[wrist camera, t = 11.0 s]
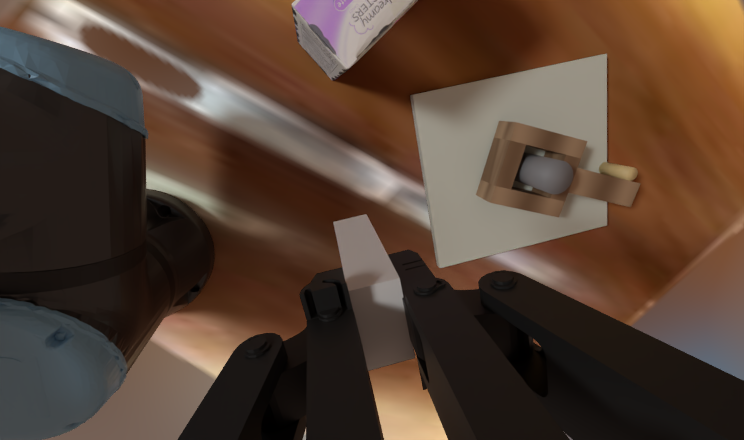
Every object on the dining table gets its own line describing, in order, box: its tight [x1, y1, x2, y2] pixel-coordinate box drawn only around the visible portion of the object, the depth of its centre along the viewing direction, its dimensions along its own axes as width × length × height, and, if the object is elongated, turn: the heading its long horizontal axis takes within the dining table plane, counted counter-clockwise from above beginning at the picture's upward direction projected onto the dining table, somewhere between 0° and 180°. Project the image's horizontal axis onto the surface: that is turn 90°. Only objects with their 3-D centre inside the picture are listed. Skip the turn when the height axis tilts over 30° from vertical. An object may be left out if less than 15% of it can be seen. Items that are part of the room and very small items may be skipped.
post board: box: [410, 54, 638, 268], centre depth 44 cm, size 24×22×9 cm
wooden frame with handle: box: [476, 121, 640, 217], centre depth 46 cm, size 18×9×4 cm, turn 76°
